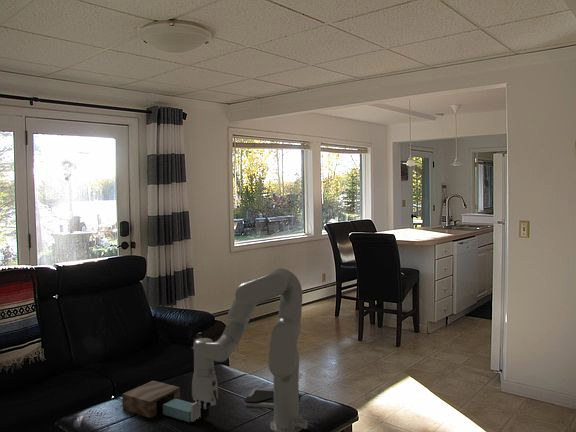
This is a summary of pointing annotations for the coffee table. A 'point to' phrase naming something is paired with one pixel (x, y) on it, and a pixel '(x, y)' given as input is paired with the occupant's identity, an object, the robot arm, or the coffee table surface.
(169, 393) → the walnut rack
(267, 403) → the picture frame
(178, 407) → the teal shell
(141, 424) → the coffee table surface
